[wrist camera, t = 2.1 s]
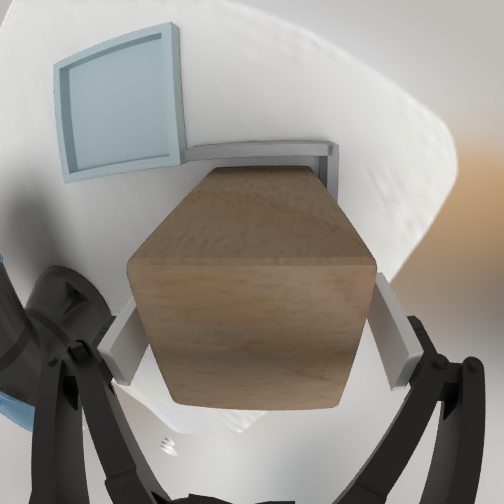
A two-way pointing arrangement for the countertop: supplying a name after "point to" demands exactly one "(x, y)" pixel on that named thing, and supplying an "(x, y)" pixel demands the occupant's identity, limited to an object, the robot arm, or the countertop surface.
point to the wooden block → (254, 292)
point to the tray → (121, 105)
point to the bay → (277, 148)
